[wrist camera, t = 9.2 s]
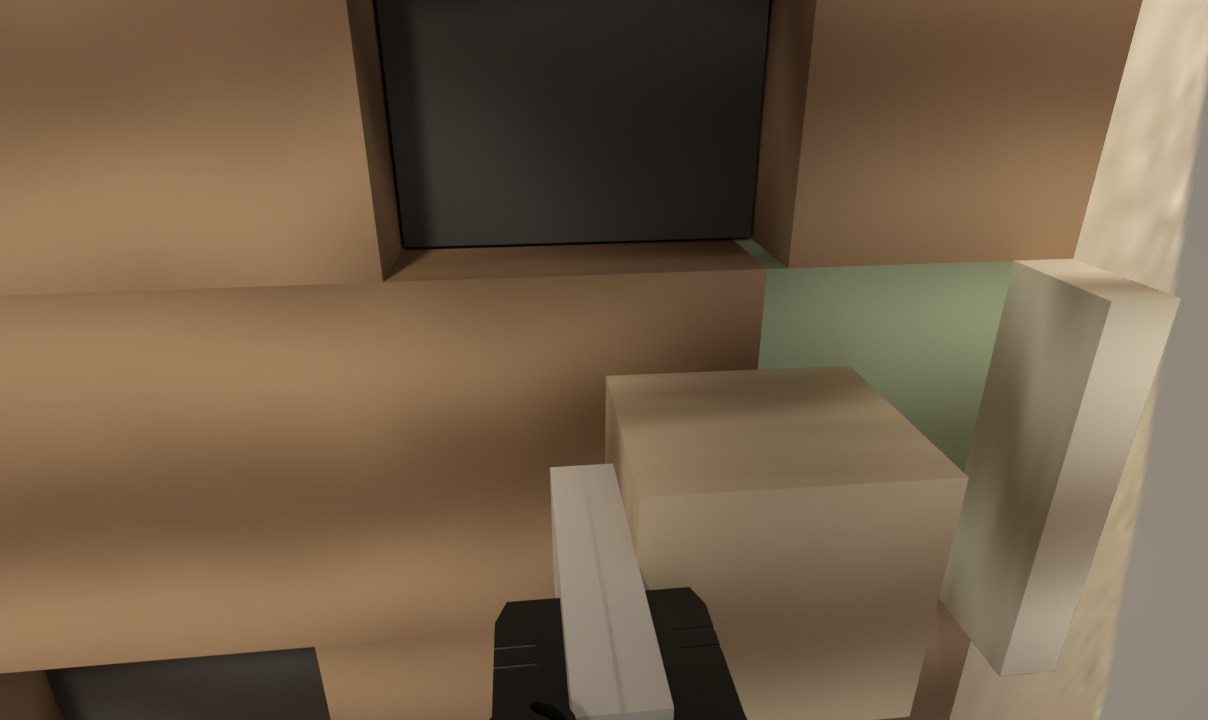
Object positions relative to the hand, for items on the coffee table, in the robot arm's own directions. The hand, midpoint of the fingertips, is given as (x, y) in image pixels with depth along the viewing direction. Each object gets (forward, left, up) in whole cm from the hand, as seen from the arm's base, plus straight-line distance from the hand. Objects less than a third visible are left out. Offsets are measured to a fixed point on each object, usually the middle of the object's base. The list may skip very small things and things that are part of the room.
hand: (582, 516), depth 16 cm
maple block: (0, +4, -2) cm, 4 cm away
